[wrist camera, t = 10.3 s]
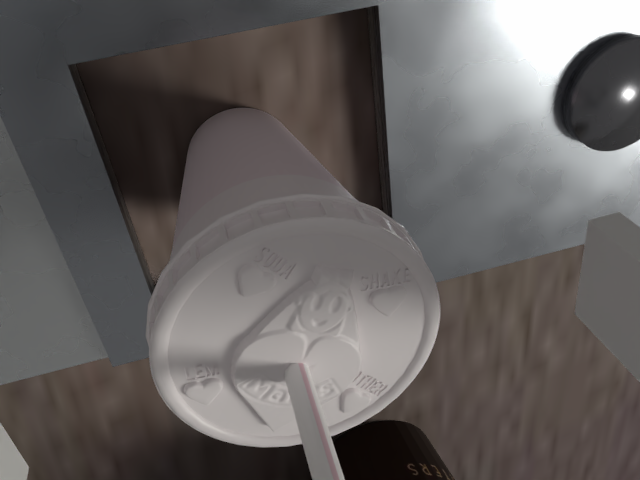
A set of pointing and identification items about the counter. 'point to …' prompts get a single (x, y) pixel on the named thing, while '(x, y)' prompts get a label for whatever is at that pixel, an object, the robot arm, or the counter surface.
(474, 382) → the counter surface
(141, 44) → the link plate
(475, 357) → the counter surface
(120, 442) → the counter surface
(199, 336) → the smoothie
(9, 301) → the link plate
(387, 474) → the coffee mug
